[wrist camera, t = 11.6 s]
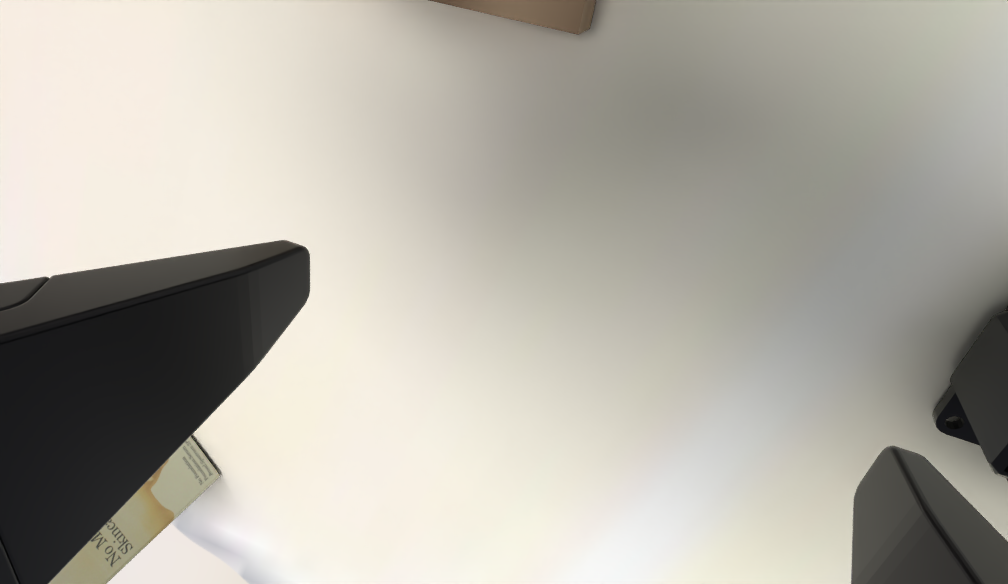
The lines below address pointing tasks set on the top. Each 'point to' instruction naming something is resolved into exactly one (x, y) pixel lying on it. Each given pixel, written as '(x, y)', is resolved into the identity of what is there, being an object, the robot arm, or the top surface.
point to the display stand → (536, 11)
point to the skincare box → (142, 517)
